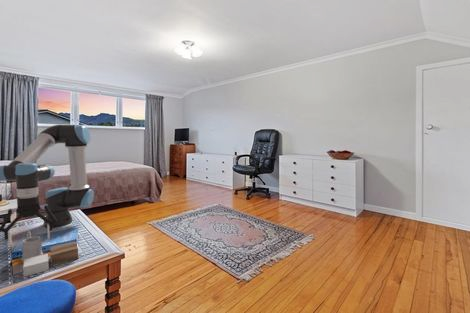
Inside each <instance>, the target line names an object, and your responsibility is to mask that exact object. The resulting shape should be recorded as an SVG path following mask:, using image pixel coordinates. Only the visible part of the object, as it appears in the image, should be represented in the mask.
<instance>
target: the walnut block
mask: <svg viewBox="0 0 470 313" xmlns="http://www.w3.org/2000/svg"><path fill="white" fill-rule="evenodd" d="M49 248H50V262H51V263H50V264H51V267H52V266H53V267H54V266H56V265H60V264H64V263H67V262H68V263H69V262H71V261H75V260H78V259H79V248H78V244H77V242H76V241H75V240H74V241H70V242H66V243H65V242H64V243H62V244H55V245H53V246H50V247H49Z"/></svg>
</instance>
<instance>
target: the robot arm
mask: <svg viewBox="0 0 470 313" xmlns="http://www.w3.org/2000/svg"><path fill="white" fill-rule="evenodd" d="M90 142H91V133H90V130H89V129H88V128H87V127H86V125H83V124H81V125H80V124H55V125H52V126H50V127H47V128H45V129H44V130H42V131H41V132H39V134H37V135H36V139H34V141H33V142H32V143H30V144H29V145H28V146H27V147H26V148H25V149H24V150H23V151H22V152H20V153H19V155H17V156H16V157H15V158H14V159H13V160H12V161H10V163H9V164H7V165H6V164H4V165H0V182H1V181H3V182H14V181H15V183H16V197H17V199H16V204H17V205H16V206H17V207H16V208H13V209H12V208H9V209H8V210H7V215H6V217H5V218H4V220H3V222H2V223H1V225H0V233H2V232H3V233H4V239H5V240H8V247H11V246H12V244H13V243H12V230H11V229H12V228H13V227H14V226H15V224H16V223H17V222H19V221H20V220H21V218H29V217H34V216H36V217H37V218H40V219H41V220H43V228H47V239H48V240H49V239H50V238H51V233H50V232H52V231H53V228H58V227H62V226H63V227H64V226H66V225H69V224H71V223H72V222H73V217H72V214H71V213H70V210H69V209H70V208H87V207H89V206H91V204H92V203H93V200H94V199H95V191H94V189H91V186H90V185H89V184H88V181H87V168H86V152H85V149H86V147H88V144H89V143H90ZM57 144H64V146H65V147H66V149H67V150H68V160H69V172H70V176H69V177H70V184H71V185H70V186H69V187H67V186H64V187H58V188H57V187H56V188H53V189H49V190H47V191H46V192H45V204H43V205H40V197H39V194H40V193H39V192H40V191H39V182H41V181H46V180H48V179H52V178H53V177H54V175H55V172H56V170H55V169H54V167H53V166H52V165H50V164H41V165H38V164H37V163H36V162H37V161H38V160H39V159H40V158H41V156H43V155H44V153H46V152H47V151H48V149H49V148H51V147H54V146H55V145H57ZM65 147H64V148H65ZM41 209H42V210H44V211H45V212H46V215H44V214H42V213H41V212H40V210H41ZM15 213H17V214H18V215H17V216H16V217H15V218H14V219H13V220H12V221H11V222H10V223H9V224H8V222H9V220H10V218H11V217H12V215H13V214H15ZM7 224H8V225H7ZM6 225H7V226H6Z"/></svg>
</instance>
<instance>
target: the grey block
mask: <svg viewBox="0 0 470 313" xmlns="http://www.w3.org/2000/svg"><path fill="white" fill-rule="evenodd" d="M22 269H23V277H28V276H31V275H35V274H38V273H42V272H46V271H49V270H50V269H49V254H48V253H45V254H44V253H43V255H40V256H36V257H32V258H28V259H24V263H23V267H22Z"/></svg>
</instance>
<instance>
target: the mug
mask: <svg viewBox="0 0 470 313" xmlns="http://www.w3.org/2000/svg"><path fill="white" fill-rule="evenodd" d="M26 233H27V234H26V238H24V239H23V240H22V245H21V250H22V256H21V262H22V263H23V264H24V259H28V258H32V257H36V256H40V255H44V252H43V250H42V246H43V242H42V241H41V240H42V239H41V236H32V234H31V233H32V232H31V231H30V230H28V231H27V232H26Z"/></svg>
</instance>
